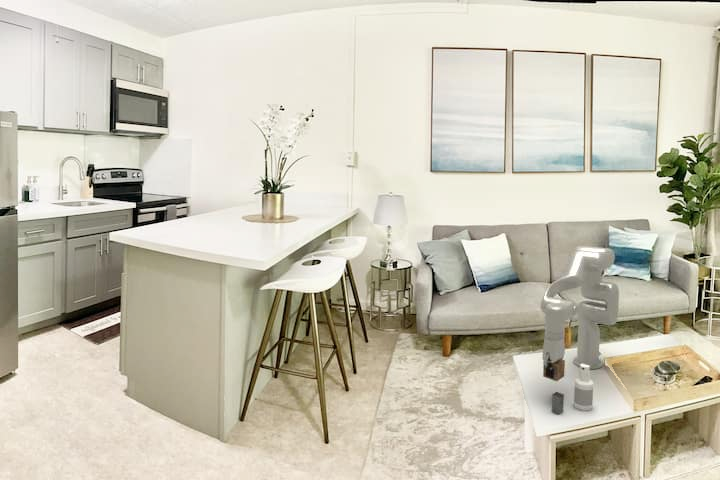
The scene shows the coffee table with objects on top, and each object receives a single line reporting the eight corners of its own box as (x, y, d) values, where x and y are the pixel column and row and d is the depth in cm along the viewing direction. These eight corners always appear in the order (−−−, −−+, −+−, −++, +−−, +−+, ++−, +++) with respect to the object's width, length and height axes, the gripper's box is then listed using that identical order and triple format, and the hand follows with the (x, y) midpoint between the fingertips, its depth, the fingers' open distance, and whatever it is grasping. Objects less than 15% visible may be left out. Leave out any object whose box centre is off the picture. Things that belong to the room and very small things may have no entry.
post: (555, 408, 192) (556, 391, 190) (563, 411, 189) (563, 394, 188) (551, 411, 190) (552, 394, 188) (559, 414, 187) (559, 397, 186)
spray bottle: (571, 406, 193) (572, 365, 189) (577, 400, 197) (579, 360, 194) (588, 412, 188) (590, 370, 185) (594, 406, 192) (596, 364, 189)
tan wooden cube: (550, 371, 201) (551, 356, 200) (564, 376, 197) (564, 360, 195) (543, 376, 198) (543, 360, 196) (556, 381, 193) (557, 365, 192)
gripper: (556, 325, 202) (555, 364, 205) (534, 337, 191) (534, 378, 194) (574, 330, 196) (572, 370, 199) (552, 342, 185) (551, 384, 189)
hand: (553, 374), depth 197 cm, fingers closed on tan wooden cube, 5 cm apart
